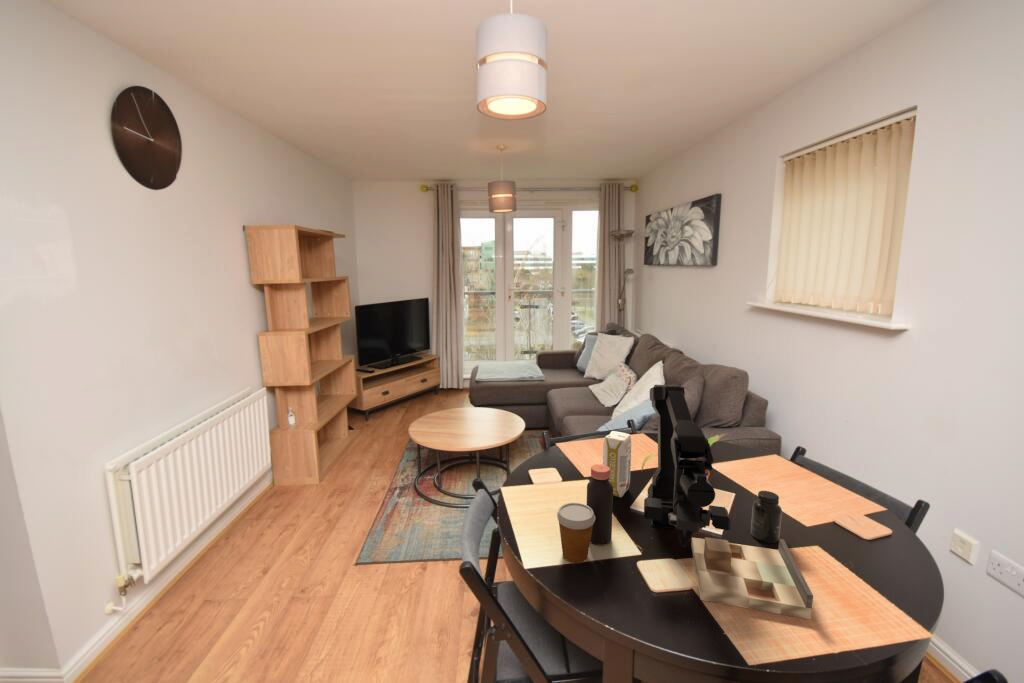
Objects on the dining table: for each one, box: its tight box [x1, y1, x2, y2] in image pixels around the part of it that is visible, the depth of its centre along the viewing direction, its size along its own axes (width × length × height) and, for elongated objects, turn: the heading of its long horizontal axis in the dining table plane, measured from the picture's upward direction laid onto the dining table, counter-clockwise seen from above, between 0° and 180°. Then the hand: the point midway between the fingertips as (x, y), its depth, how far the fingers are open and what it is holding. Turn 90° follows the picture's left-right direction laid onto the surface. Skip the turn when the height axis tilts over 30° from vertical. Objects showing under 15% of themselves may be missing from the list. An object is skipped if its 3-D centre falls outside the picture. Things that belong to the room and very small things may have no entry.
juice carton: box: [602, 430, 632, 498], centre depth 145 cm, size 8×9×19 cm
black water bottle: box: [586, 463, 614, 546], centre depth 119 cm, size 7×7×20 cm
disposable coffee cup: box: [556, 502, 595, 564], centre depth 113 cm, size 10×10×12 cm
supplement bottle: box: [750, 490, 783, 544], centre depth 120 cm, size 7×7×12 cm
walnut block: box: [704, 536, 732, 573], centre depth 106 cm, size 5×5×5 cm
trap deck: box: [690, 536, 814, 620], centre depth 104 cm, size 21×20×6 cm
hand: (683, 545), depth 108 cm, fingers closed
